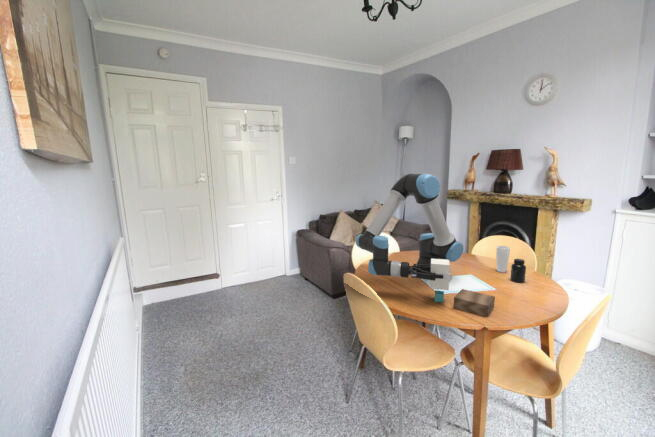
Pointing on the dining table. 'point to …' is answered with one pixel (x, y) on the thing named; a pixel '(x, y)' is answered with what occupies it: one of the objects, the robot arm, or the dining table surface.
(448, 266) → the upright white rectangular block
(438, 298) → the teal cube
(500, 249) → the drinking glass
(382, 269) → the robot arm
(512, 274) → the supplement bottle
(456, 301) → the walnut stand
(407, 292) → the dining table surface
